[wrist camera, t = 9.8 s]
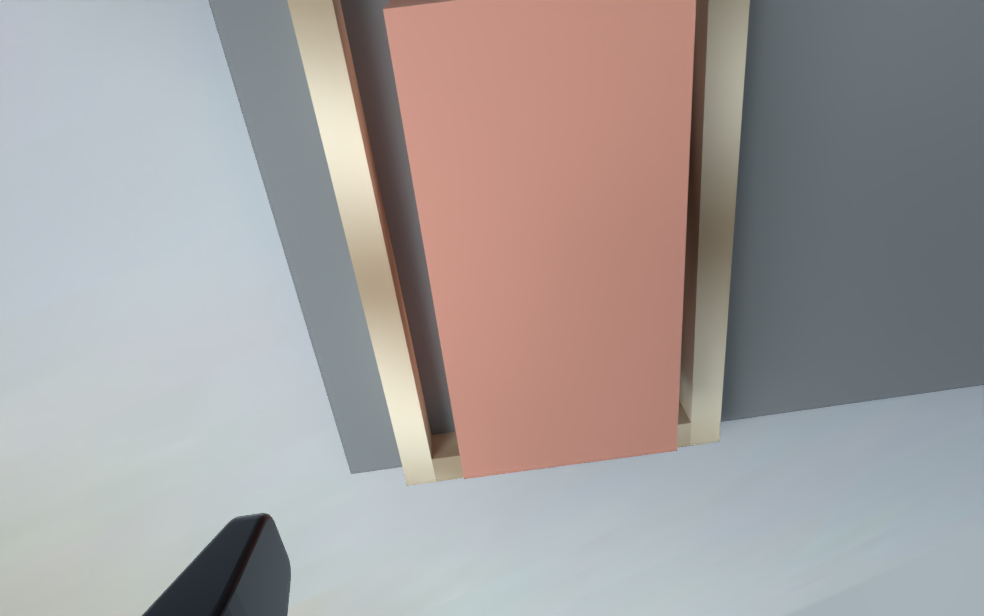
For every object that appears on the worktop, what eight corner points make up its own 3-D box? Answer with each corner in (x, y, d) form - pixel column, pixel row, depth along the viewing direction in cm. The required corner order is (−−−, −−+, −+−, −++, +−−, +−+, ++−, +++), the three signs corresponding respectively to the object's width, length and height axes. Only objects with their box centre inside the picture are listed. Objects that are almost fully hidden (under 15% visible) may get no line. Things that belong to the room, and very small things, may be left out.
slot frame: (275, -95, 12) (263, -98, 11) (737, -158, 12) (761, -165, 11) (408, 460, 19) (407, 485, 18) (706, 418, 19) (718, 441, 18)
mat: (127, -304, 11) (114, -315, 10) (1482, -483, 11) (1524, -501, 11) (353, 461, 19) (351, 473, 19) (1122, 353, 19) (1139, 362, 19)
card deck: (460, 400, 18) (463, 478, 15) (393, -4, 13) (383, 9, 10) (641, 376, 18) (676, 450, 15) (644, -35, 13) (697, -30, 10)
